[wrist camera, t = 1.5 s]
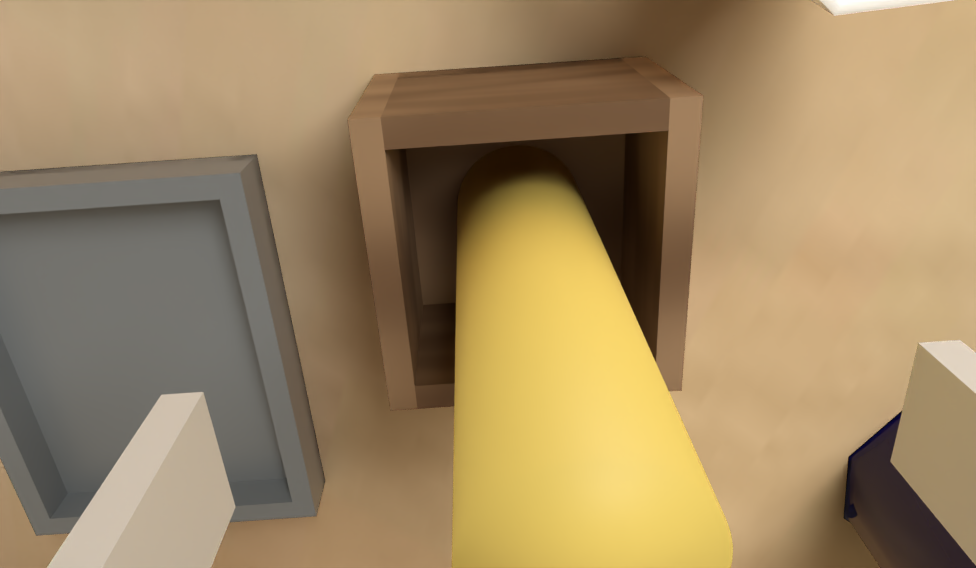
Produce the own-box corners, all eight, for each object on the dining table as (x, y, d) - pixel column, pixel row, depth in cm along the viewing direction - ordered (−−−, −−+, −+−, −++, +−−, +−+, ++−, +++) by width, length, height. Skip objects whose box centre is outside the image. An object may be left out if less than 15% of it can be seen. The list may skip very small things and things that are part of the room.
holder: (374, 74, 23) (347, 120, 17) (645, 56, 23) (703, 95, 17) (405, 312, 26) (390, 410, 21) (636, 296, 26) (681, 390, 21)
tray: (-77, 176, 24) (-121, 197, 22) (256, 154, 24) (239, 172, 22) (61, 499, 30) (36, 535, 28) (325, 480, 30) (316, 516, 28)
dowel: (452, 149, 23) (439, 469, 9) (578, 141, 23) (746, 448, 9) (462, 263, 24) (462, 670, 11) (578, 255, 24) (720, 651, 11)
